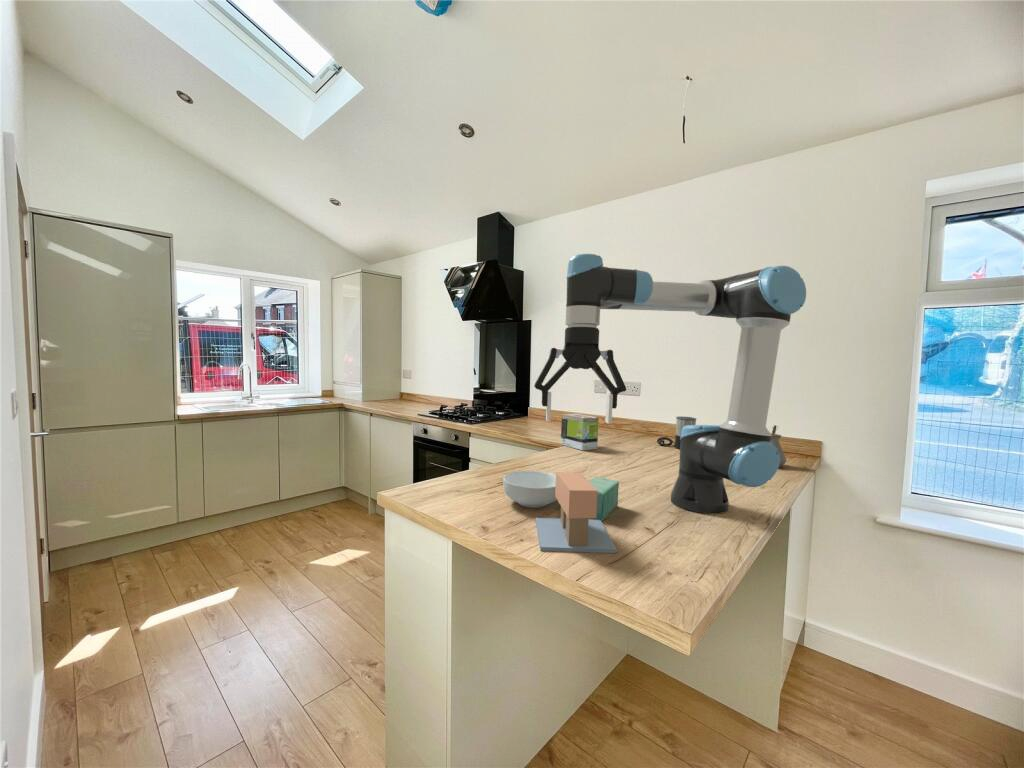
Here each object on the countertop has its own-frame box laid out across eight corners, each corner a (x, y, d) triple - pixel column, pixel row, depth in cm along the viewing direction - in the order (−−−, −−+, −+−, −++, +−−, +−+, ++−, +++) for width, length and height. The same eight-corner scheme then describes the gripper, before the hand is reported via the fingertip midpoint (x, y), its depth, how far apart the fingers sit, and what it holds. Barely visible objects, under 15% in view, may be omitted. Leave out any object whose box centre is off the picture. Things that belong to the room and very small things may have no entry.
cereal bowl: (547, 519, 105) (548, 491, 104) (491, 506, 113) (491, 480, 112) (571, 500, 120) (572, 476, 119) (520, 489, 128) (521, 467, 127)
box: (574, 515, 108) (576, 486, 108) (592, 501, 120) (594, 475, 120) (602, 522, 105) (603, 492, 104) (618, 506, 116) (619, 480, 116)
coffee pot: (784, 470, 163) (787, 432, 162) (750, 465, 170) (753, 428, 169) (788, 461, 180) (791, 426, 179) (758, 456, 187) (760, 423, 186)
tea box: (598, 449, 191) (599, 417, 190) (582, 451, 185) (583, 418, 184) (575, 442, 203) (576, 412, 203) (559, 444, 198) (561, 413, 197)
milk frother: (698, 451, 195) (700, 419, 194) (663, 449, 195) (665, 418, 194) (686, 444, 209) (688, 415, 208) (654, 443, 209) (656, 414, 208)
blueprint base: (599, 522, 103) (601, 496, 103) (616, 552, 88) (618, 521, 87) (535, 520, 103) (536, 493, 103) (540, 550, 87) (541, 518, 87)
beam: (579, 496, 102) (580, 472, 102) (596, 518, 88) (597, 490, 88) (555, 496, 102) (556, 472, 101) (568, 518, 88) (569, 490, 87)
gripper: (633, 330, 96) (628, 421, 98) (525, 326, 96) (522, 417, 97) (643, 327, 89) (638, 426, 90) (526, 323, 89) (523, 422, 90)
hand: (578, 422), depth 94 cm, fingers open, 13 cm apart
